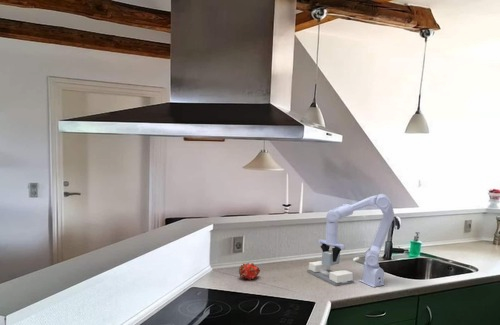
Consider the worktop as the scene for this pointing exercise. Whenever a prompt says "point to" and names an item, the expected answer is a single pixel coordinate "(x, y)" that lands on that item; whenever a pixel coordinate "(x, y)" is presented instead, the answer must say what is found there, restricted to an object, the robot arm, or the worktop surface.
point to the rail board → (330, 274)
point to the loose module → (329, 258)
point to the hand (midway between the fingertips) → (330, 260)
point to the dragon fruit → (249, 271)
